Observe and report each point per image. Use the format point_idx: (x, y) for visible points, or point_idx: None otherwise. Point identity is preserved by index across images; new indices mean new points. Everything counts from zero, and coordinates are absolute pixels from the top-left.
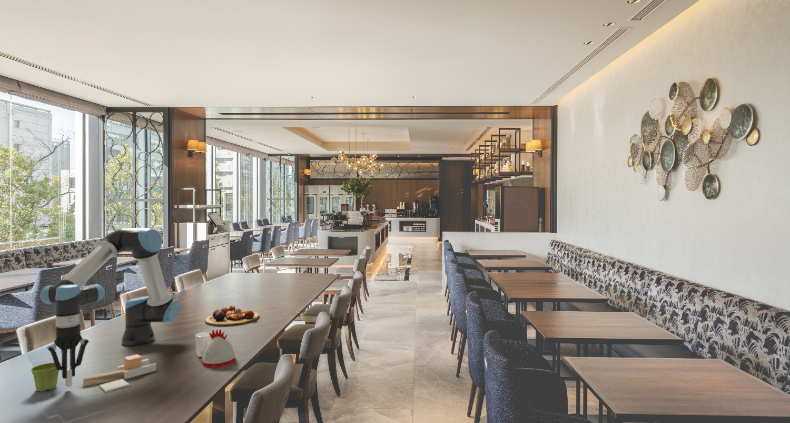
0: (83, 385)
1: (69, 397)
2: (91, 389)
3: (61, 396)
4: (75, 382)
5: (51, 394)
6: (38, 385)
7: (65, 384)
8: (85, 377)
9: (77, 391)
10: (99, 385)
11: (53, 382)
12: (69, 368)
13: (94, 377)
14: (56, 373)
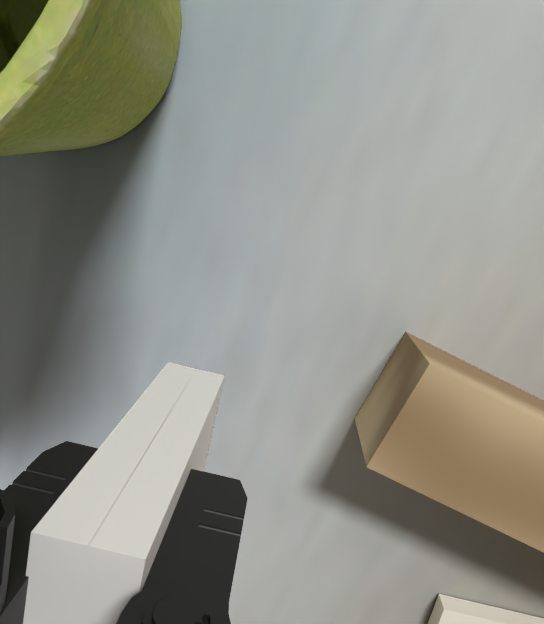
0: (359, 425)
1: None
2: (348, 589)
3: None
4: (388, 171)
5: (36, 326)
6: None
7: (163, 368)
8: (440, 407)
9: None
10: (442, 606)
11: (68, 146)
12: (104, 614)
13: (499, 530)
14: (38, 123)
